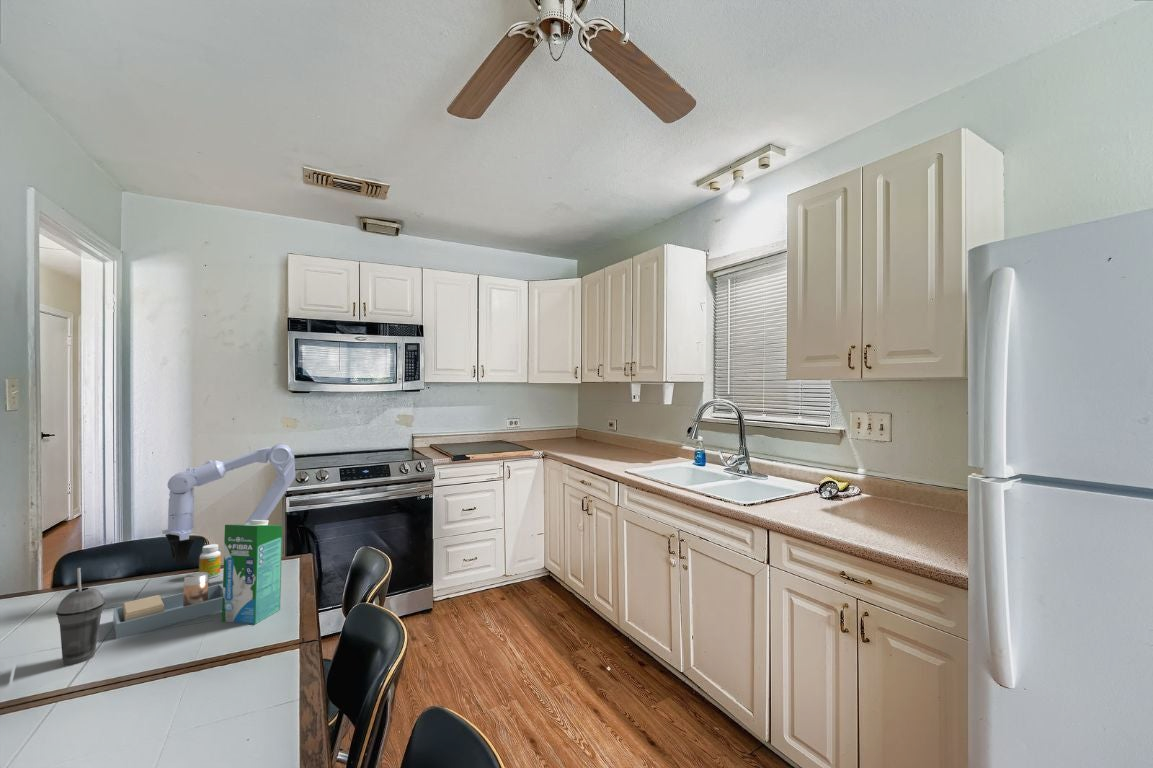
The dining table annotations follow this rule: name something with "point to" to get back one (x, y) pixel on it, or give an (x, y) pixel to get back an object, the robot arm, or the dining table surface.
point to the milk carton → (251, 571)
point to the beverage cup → (79, 623)
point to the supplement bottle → (210, 560)
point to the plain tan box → (142, 608)
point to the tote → (169, 613)
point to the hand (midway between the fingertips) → (179, 560)
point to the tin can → (195, 588)
